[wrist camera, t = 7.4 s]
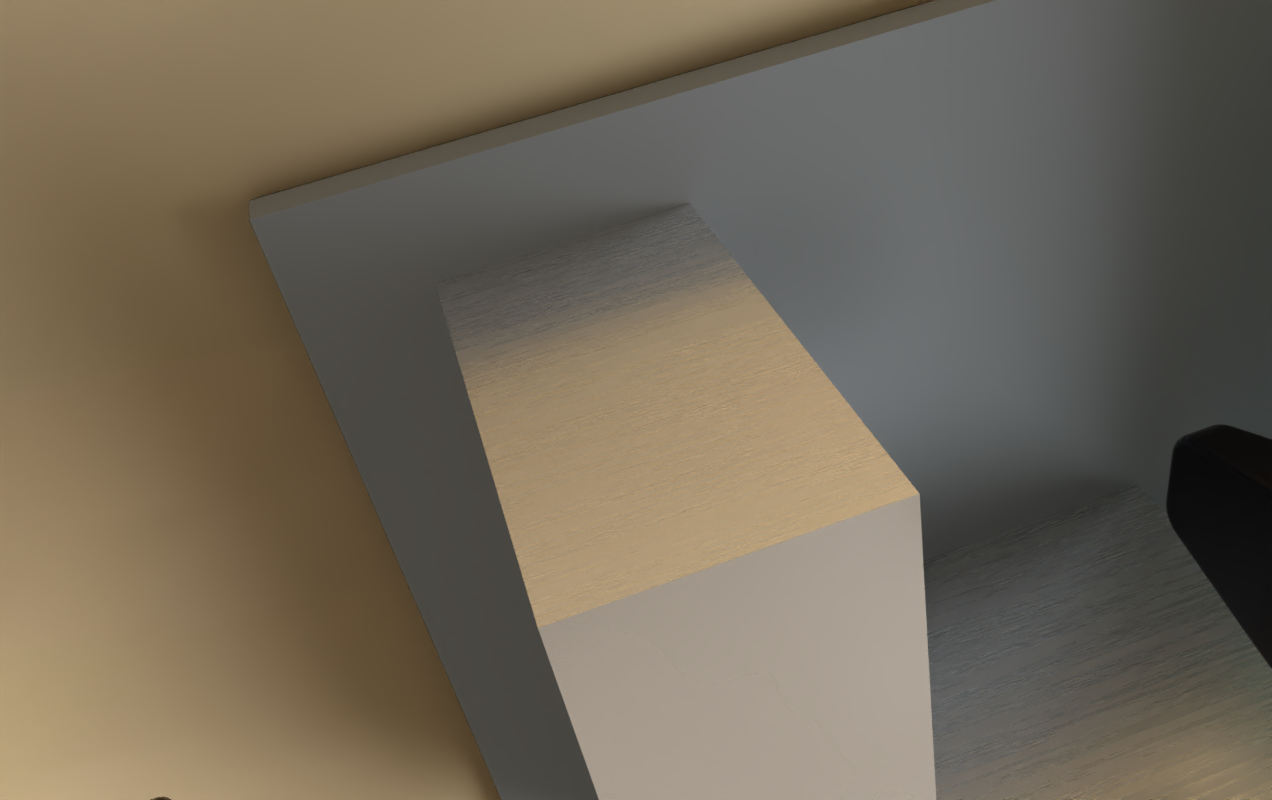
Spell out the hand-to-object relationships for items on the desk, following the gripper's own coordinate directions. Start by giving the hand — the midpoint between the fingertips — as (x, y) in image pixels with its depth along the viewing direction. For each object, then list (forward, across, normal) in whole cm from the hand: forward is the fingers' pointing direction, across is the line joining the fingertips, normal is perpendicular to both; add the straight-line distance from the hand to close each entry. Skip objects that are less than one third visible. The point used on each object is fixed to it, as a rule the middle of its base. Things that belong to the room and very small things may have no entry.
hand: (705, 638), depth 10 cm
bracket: (+3, -3, +1) cm, 4 cm away
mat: (+3, -3, +2) cm, 5 cm away
